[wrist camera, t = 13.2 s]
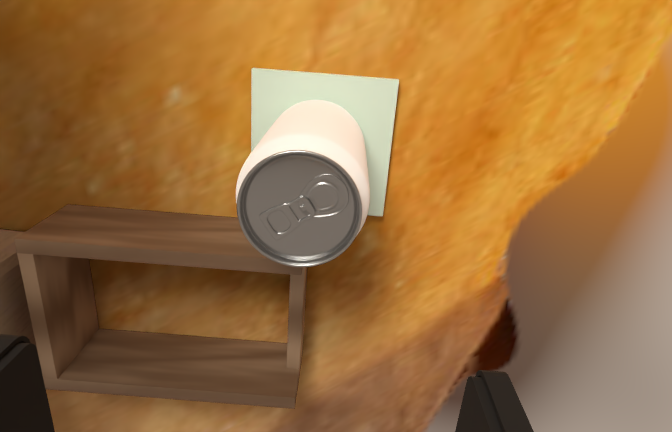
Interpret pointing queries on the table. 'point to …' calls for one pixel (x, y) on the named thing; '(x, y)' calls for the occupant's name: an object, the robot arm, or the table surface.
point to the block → (13, 290)
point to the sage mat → (344, 90)
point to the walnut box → (142, 347)
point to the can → (305, 186)
